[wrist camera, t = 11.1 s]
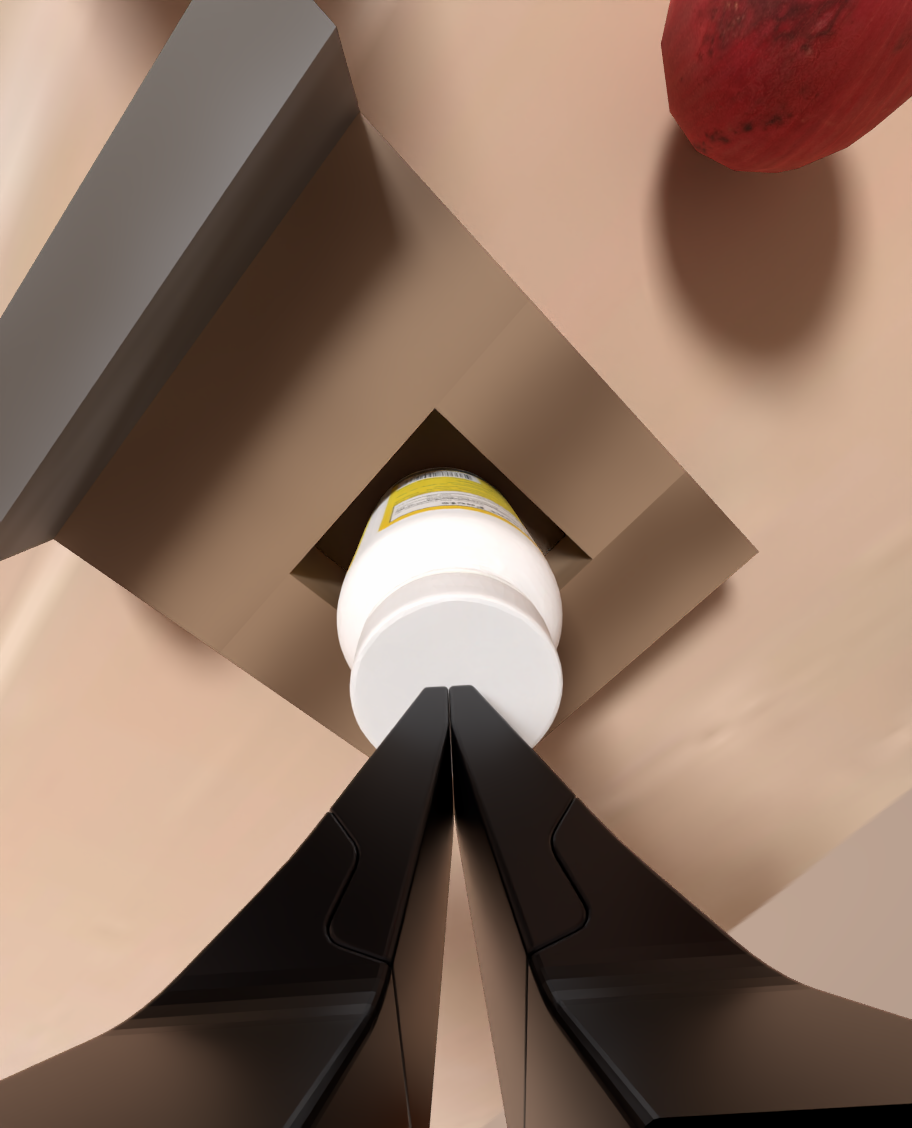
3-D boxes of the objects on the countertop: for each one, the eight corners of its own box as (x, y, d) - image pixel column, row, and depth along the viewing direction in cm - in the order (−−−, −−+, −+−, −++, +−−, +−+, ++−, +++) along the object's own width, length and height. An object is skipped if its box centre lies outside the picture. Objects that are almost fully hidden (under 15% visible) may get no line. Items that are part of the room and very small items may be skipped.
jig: (710, 526, 19) (829, 588, 13) (451, 759, 22) (457, 891, 16) (318, 103, 14) (241, -82, 9) (60, 475, 17) (-122, 520, 12)
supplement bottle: (445, 633, 20) (455, 852, 11) (337, 540, 18) (241, 700, 9) (548, 537, 19) (659, 688, 9) (442, 430, 17) (451, 486, 8)
